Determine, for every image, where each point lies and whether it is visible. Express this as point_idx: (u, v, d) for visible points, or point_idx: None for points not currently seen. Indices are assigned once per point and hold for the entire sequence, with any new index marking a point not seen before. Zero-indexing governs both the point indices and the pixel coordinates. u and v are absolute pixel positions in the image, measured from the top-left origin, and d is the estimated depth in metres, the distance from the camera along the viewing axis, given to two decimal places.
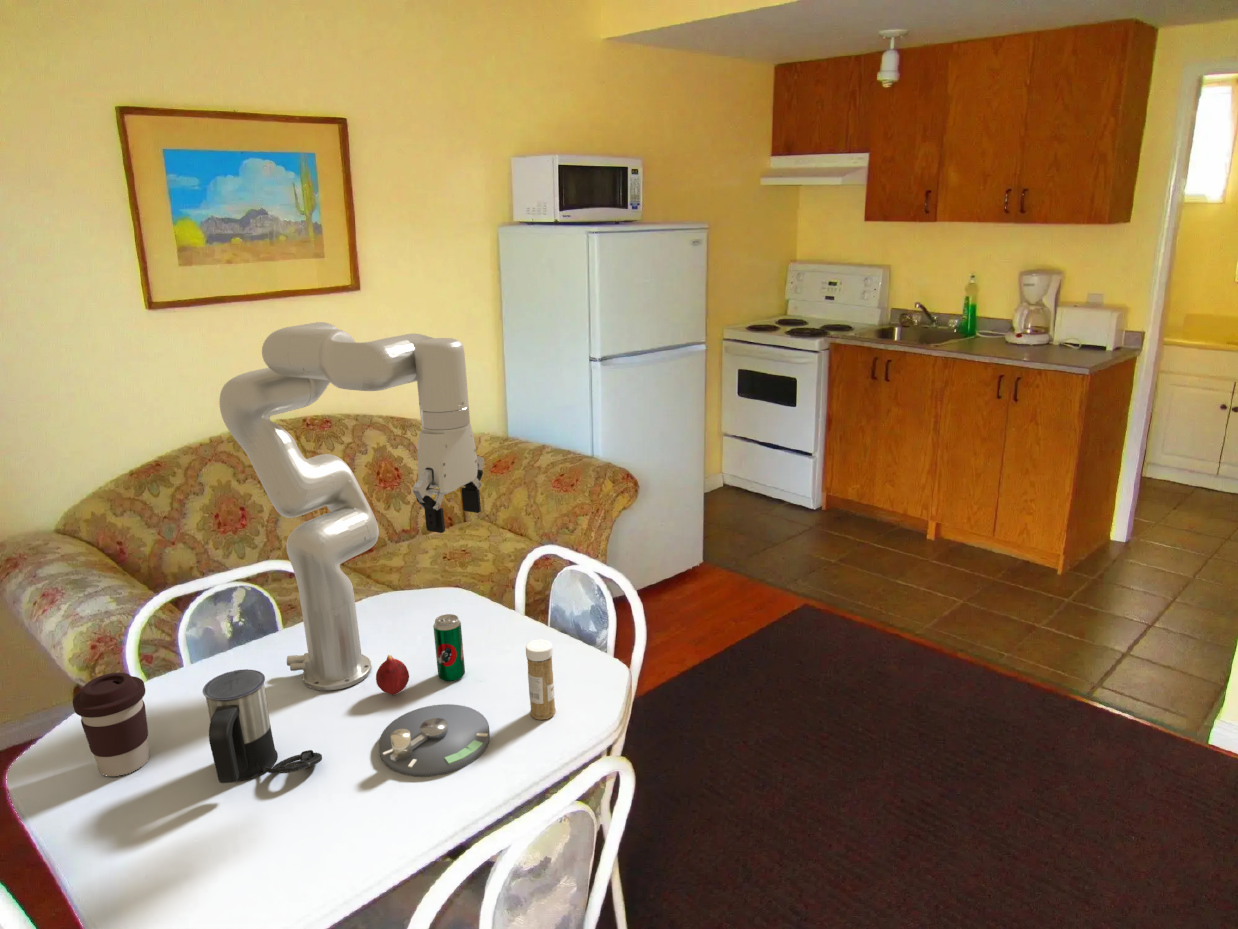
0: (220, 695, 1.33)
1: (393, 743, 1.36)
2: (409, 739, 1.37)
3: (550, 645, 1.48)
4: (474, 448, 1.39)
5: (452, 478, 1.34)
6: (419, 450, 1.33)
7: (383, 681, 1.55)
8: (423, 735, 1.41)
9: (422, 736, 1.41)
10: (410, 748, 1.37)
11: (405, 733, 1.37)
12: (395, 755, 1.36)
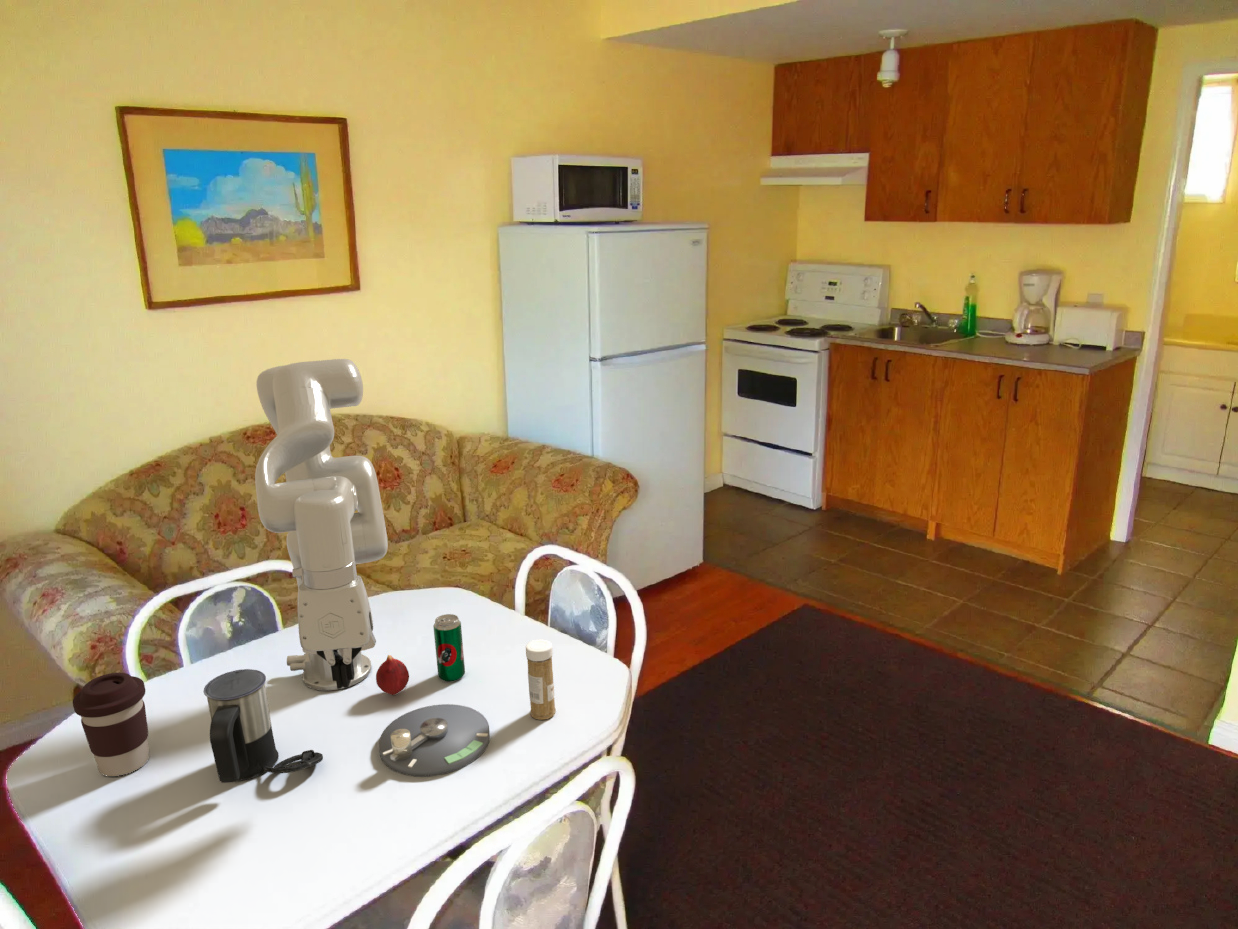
0: (221, 694, 1.33)
1: (393, 743, 1.36)
2: (409, 739, 1.37)
3: (550, 645, 1.48)
4: None
5: None
6: (363, 602, 1.28)
7: (383, 681, 1.55)
8: (423, 735, 1.41)
9: (422, 736, 1.41)
10: (410, 748, 1.37)
11: (405, 733, 1.37)
12: (395, 755, 1.36)
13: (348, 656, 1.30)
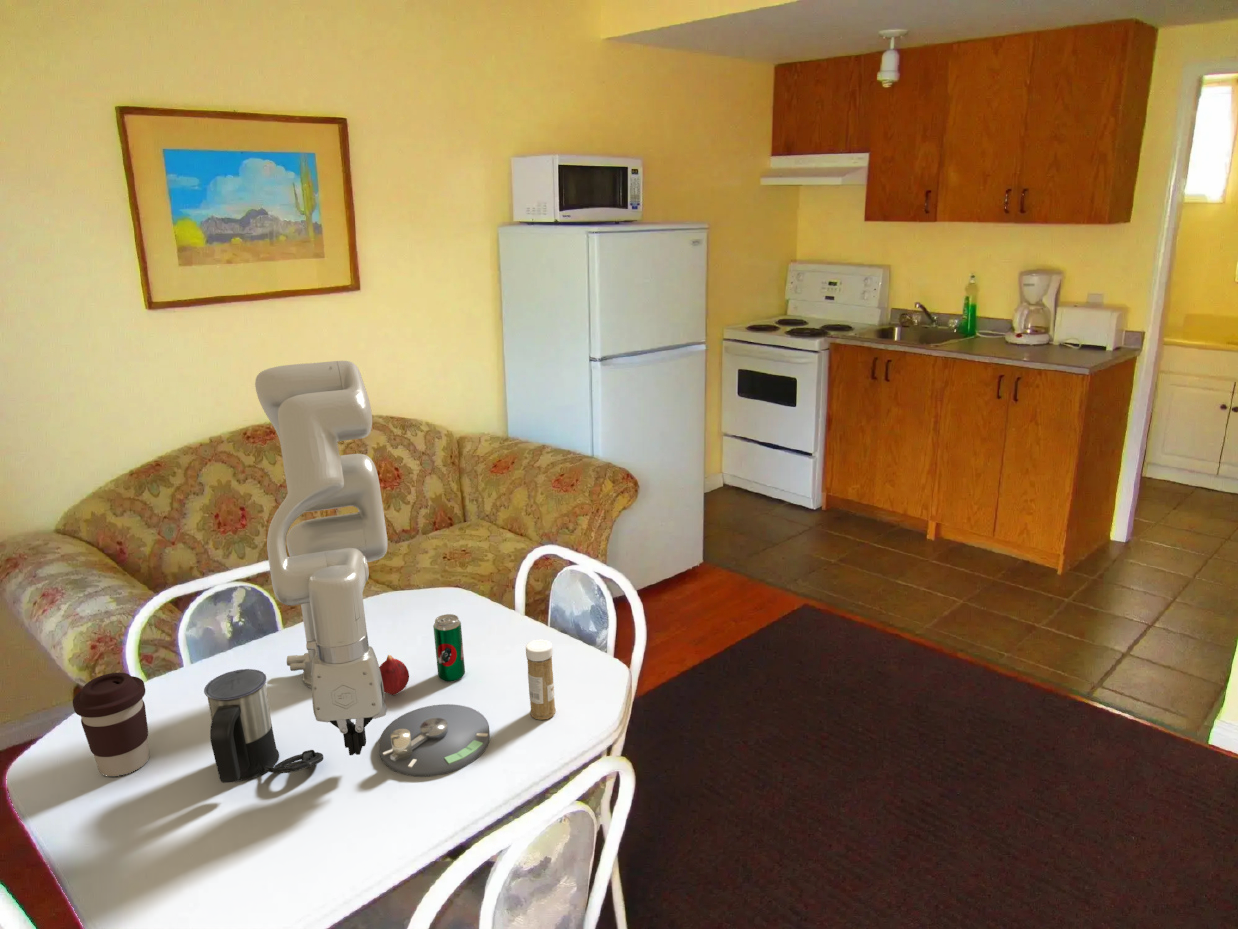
0: (221, 694, 1.33)
1: (393, 743, 1.36)
2: (409, 739, 1.37)
3: (550, 645, 1.48)
4: None
5: None
6: (375, 674, 1.31)
7: (383, 681, 1.55)
8: (423, 735, 1.41)
9: (422, 736, 1.41)
10: (410, 748, 1.37)
11: (405, 733, 1.37)
12: (395, 755, 1.36)
13: (360, 725, 1.34)
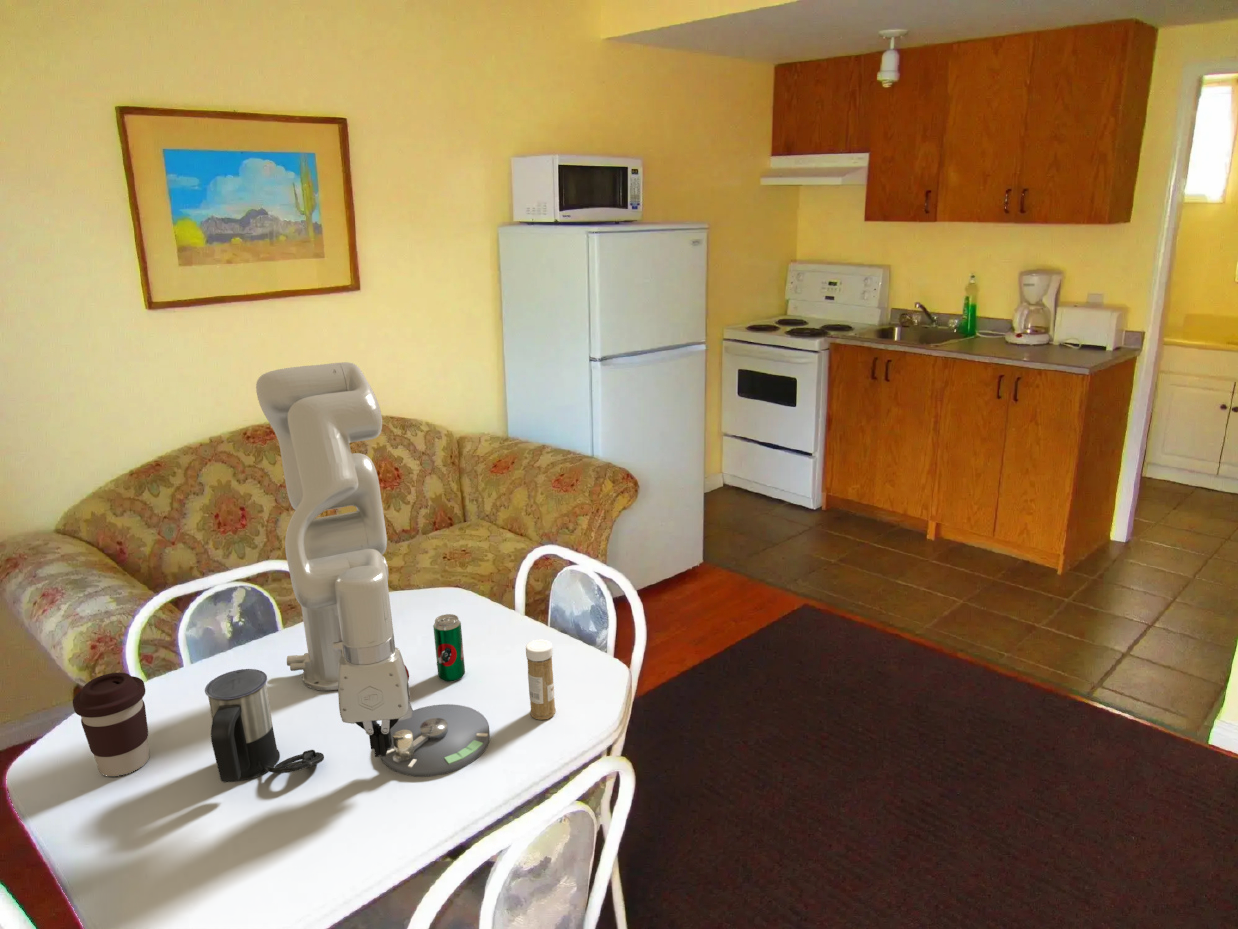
0: (222, 694, 1.33)
1: (396, 744, 1.36)
2: (411, 740, 1.37)
3: (550, 645, 1.48)
4: None
5: None
6: (401, 675, 1.31)
7: None
8: (424, 735, 1.41)
9: (423, 736, 1.41)
10: (412, 749, 1.37)
11: (407, 734, 1.37)
12: (398, 756, 1.36)
13: (386, 726, 1.33)
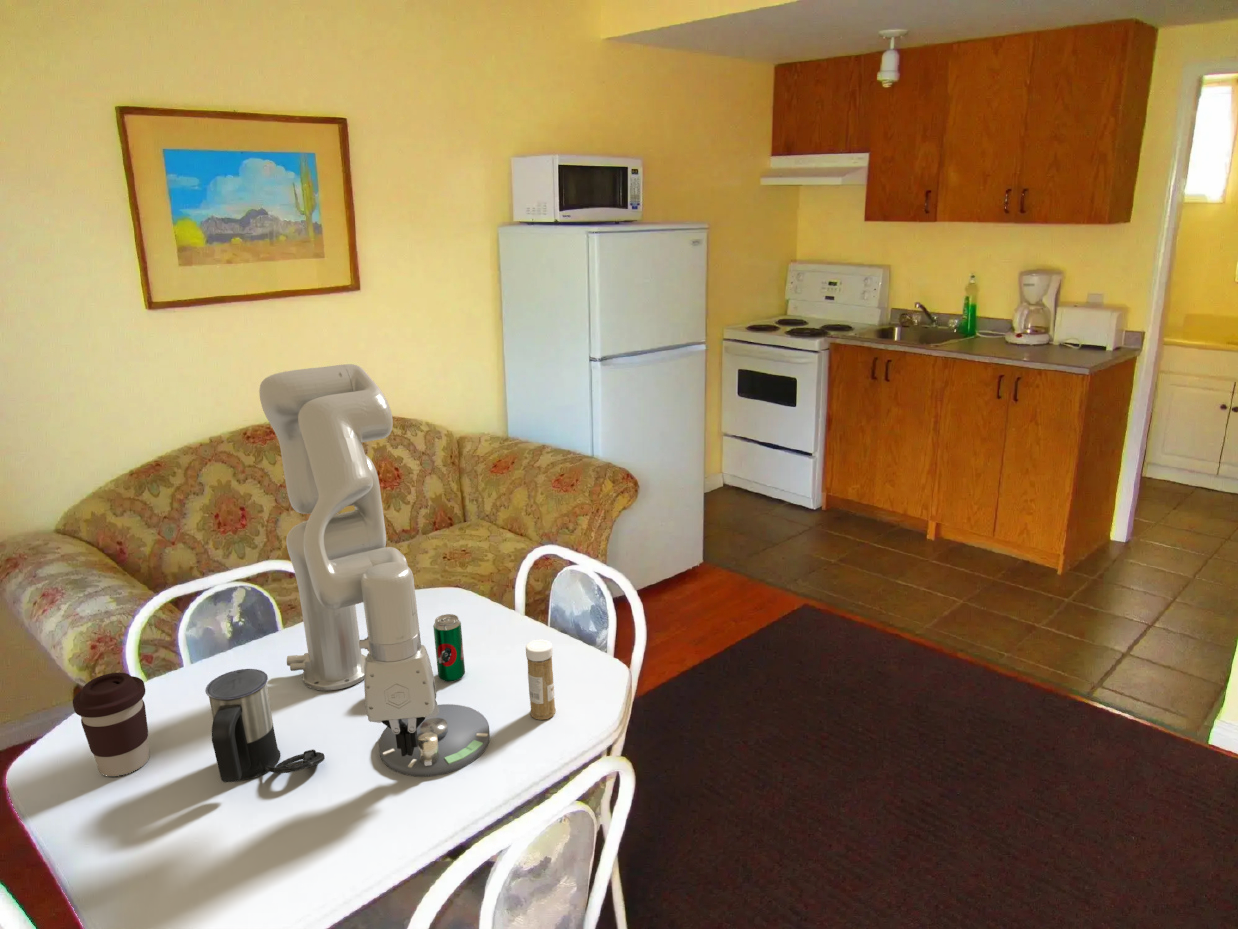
0: (223, 694, 1.33)
1: (426, 748, 1.35)
2: None
3: (550, 645, 1.48)
4: None
5: None
6: (428, 672, 1.30)
7: None
8: None
9: None
10: None
11: (431, 735, 1.36)
12: (429, 759, 1.35)
13: (413, 725, 1.32)
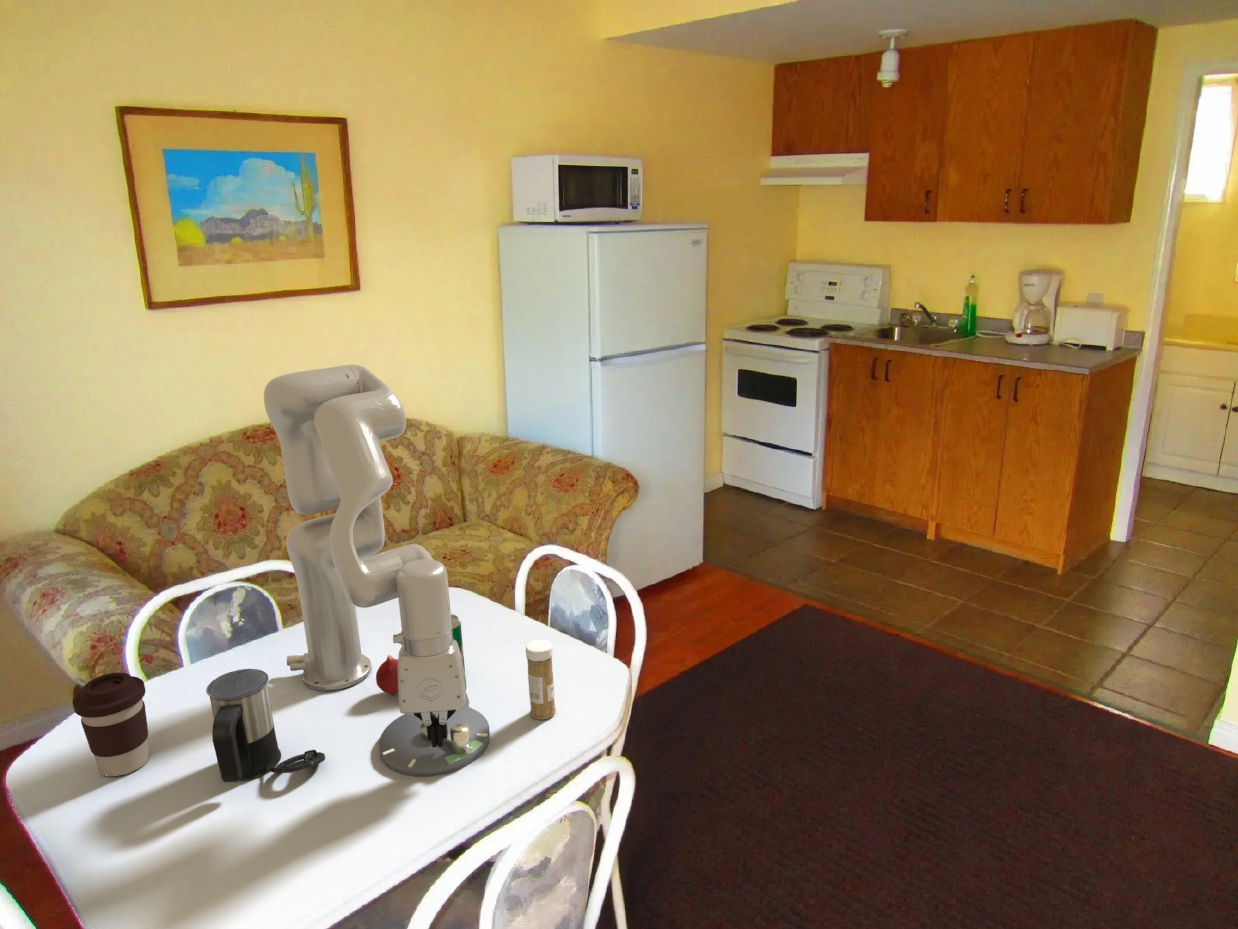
0: (223, 694, 1.33)
1: (465, 736, 1.37)
2: None
3: (550, 645, 1.48)
4: None
5: None
6: (460, 666, 1.33)
7: (383, 681, 1.55)
8: None
9: None
10: None
11: (459, 726, 1.39)
12: (468, 747, 1.38)
13: (444, 717, 1.35)
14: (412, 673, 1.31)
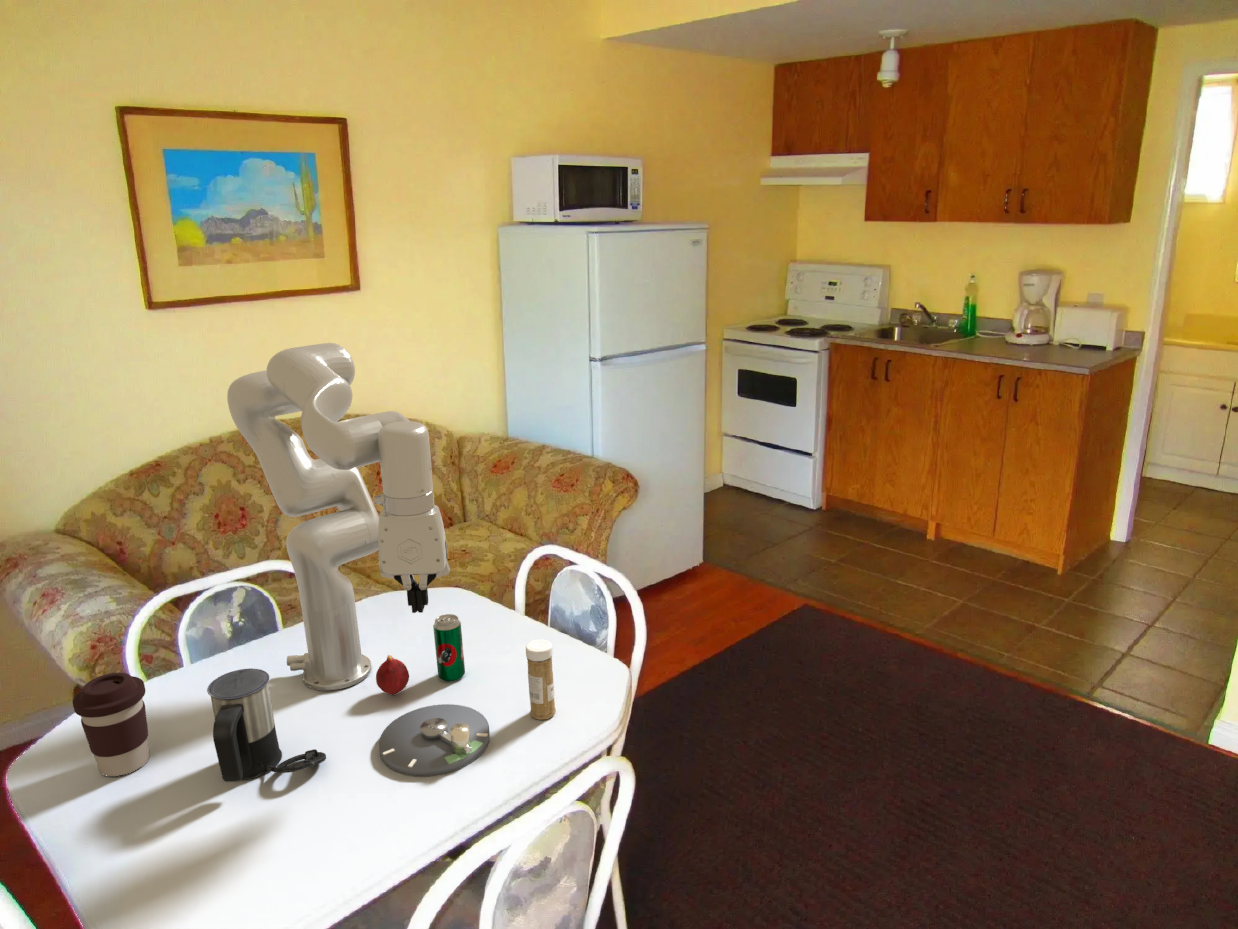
0: (224, 694, 1.33)
1: (465, 736, 1.37)
2: None
3: (550, 645, 1.48)
4: None
5: None
6: (440, 530, 1.33)
7: (383, 681, 1.55)
8: (443, 733, 1.42)
9: (444, 734, 1.42)
10: None
11: (459, 726, 1.39)
12: (468, 747, 1.38)
13: (424, 582, 1.36)
14: (392, 533, 1.32)
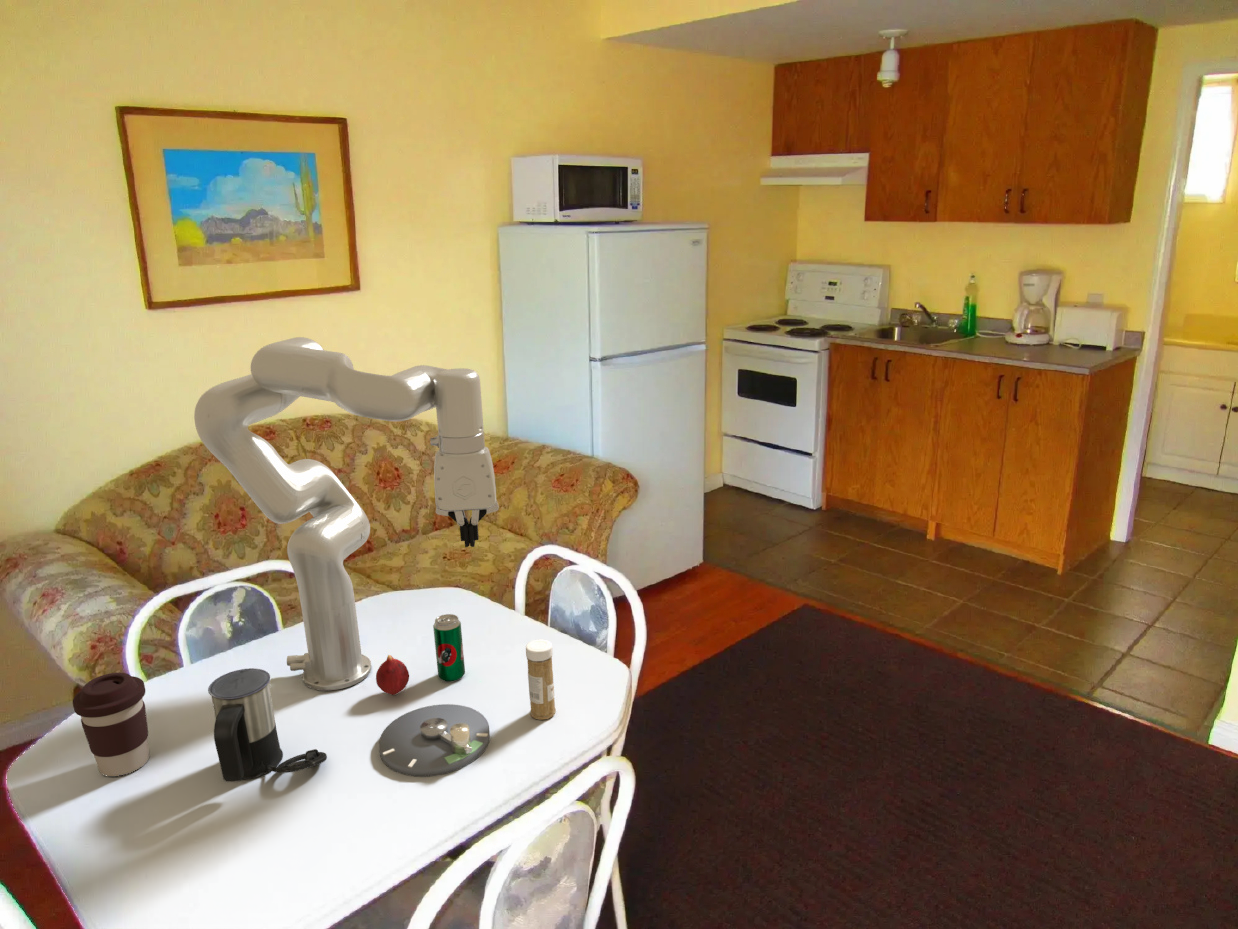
0: (225, 693, 1.33)
1: (465, 736, 1.37)
2: None
3: (550, 645, 1.48)
4: None
5: None
6: (491, 467, 1.45)
7: (383, 681, 1.55)
8: (443, 733, 1.42)
9: (444, 734, 1.42)
10: None
11: (459, 726, 1.39)
12: (468, 747, 1.38)
13: (476, 517, 1.48)
14: (448, 471, 1.44)
